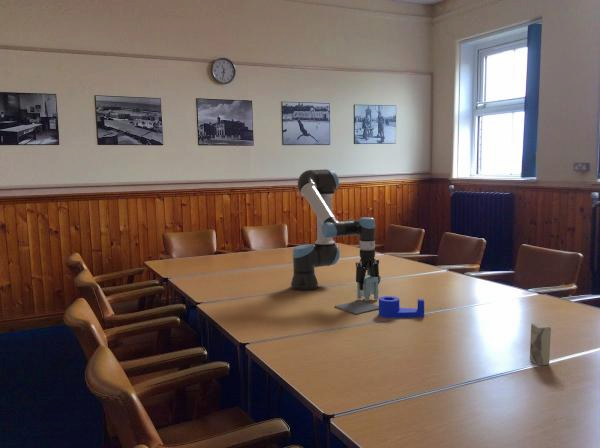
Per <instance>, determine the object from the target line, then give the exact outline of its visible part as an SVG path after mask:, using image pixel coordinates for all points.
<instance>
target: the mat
mask: <svg viewBox="0 0 600 448" xmlns="http://www.w3.org/2000/svg"><path fill="white" fill-rule="evenodd" d="M334 308H335V309H338V310H341V311H344V312H347V313H350V314H354V315H356V316H357V315H361V314H365V313H370V312H373V311H379V305H377V304H373V303H371V302H368V301H365V300H360V299H359V300H357V301H351V302H348V303H343V304H338V305H334Z"/></svg>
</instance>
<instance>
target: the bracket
mask: <svg viewBox="0 0 600 448" xmlns="http://www.w3.org/2000/svg"><path fill="white" fill-rule="evenodd" d="M378 306H379V310H378V316H379V317H380V318H385V319H402V318H425V299H424V298H417V308H409V307H401V306H400V298H399V297H397V296H392V295H391V296H390V295H387V296H386V295H385V296H380V297H378Z"/></svg>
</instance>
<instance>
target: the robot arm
mask: <svg viewBox="0 0 600 448" xmlns="http://www.w3.org/2000/svg"><path fill="white" fill-rule="evenodd" d="M339 183H340V182H339V177H338V175H337V173H336V172H335V171H334V170H333V169H326V168H325V169H324V168H323V169H309V170H305V171H303V172H302V173H301V174H299V176H298V180H297V189H298V191H299V194H300V195H301V196H302V197H303V198H305V199H306V201H307V202H308V204H309V206H310V207H311V208H312V211H313V213H314V214H315V215H316V238H317V239H316V241H314V244H312V243H311V244H309V243H306V244H300V245H297V246H295V247H294V248H293V249H292V263H293V265H292V266H293V268H292V269H293V276H292V279H291V283H290V288H291V289H292V290H296V291H309V290H311V291H312V290H315V289H318V287H319V282H318V280H317V277H316V272H315V268H320V267H329V266H333V265H335V264H336V265H337V263H338V261H339V260H340V257H341V255H340V254H341V252H340V251H341V250H340V249H339V246H338V245H337V244H336V241H335V240H334V238H338V237H348V236H358V237H359V257H360V258H359V259H360V260H359V261H358V262H355V267H356V268H355V269H356V270H355V282H356V283H357V282H358V283H359V289H360V296H361V297H364V298H365V283H364V279H365V275H367V269H369V272H370V276H372V277H376V276H377V277H378V279H379V276H380V269H379V265H380V260H379V259H377V258H375V257H376V250H375V248H376V222H375V221H376V220H375V218H374V217H360V218H359V220H358V219H355V218H354V219H347V220H342V221H341V220H338V219H337V217H336V216H335V215H334V213H333V196H335V193H336V192H335V191H336V190H338V187H340V186H339V185H340V184H339ZM361 280H362V281H361ZM370 295H373V296H374V282H371V283H370Z"/></svg>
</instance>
